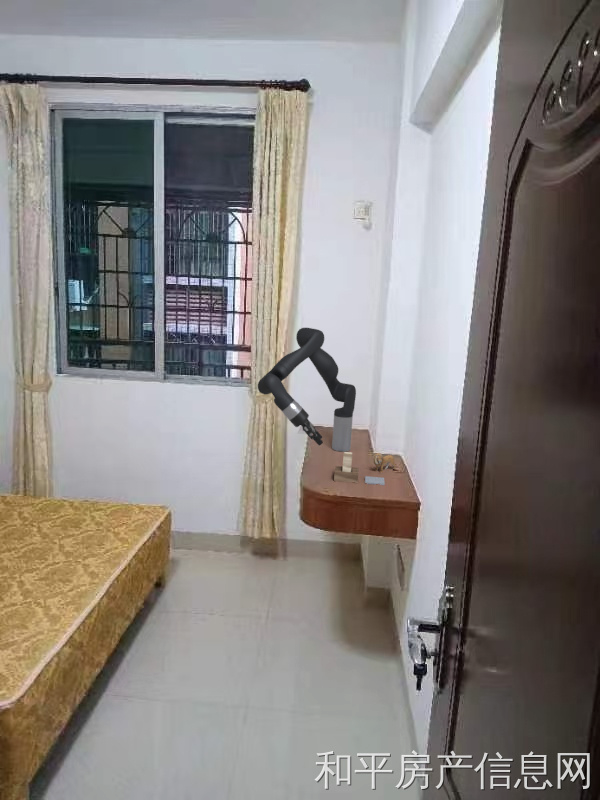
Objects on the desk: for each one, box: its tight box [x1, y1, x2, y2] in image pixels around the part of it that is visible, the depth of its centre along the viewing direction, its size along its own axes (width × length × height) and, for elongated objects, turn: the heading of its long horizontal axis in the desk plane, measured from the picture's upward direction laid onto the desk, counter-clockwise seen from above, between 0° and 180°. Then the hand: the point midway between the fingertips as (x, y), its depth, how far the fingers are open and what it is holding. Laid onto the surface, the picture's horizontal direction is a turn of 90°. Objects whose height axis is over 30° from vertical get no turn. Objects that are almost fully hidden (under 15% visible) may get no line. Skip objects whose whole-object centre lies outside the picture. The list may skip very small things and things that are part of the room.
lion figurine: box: [373, 452, 396, 474], centre depth 265 cm, size 15×5×9 cm, turn 136°
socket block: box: [333, 465, 360, 484], centre depth 252 cm, size 10×10×4 cm
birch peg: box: [342, 451, 353, 472], centre depth 251 cm, size 4×4×11 cm
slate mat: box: [364, 475, 386, 486], centre depth 250 cm, size 8×8×1 cm
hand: (320, 441), depth 249 cm, fingers open, 8 cm apart
